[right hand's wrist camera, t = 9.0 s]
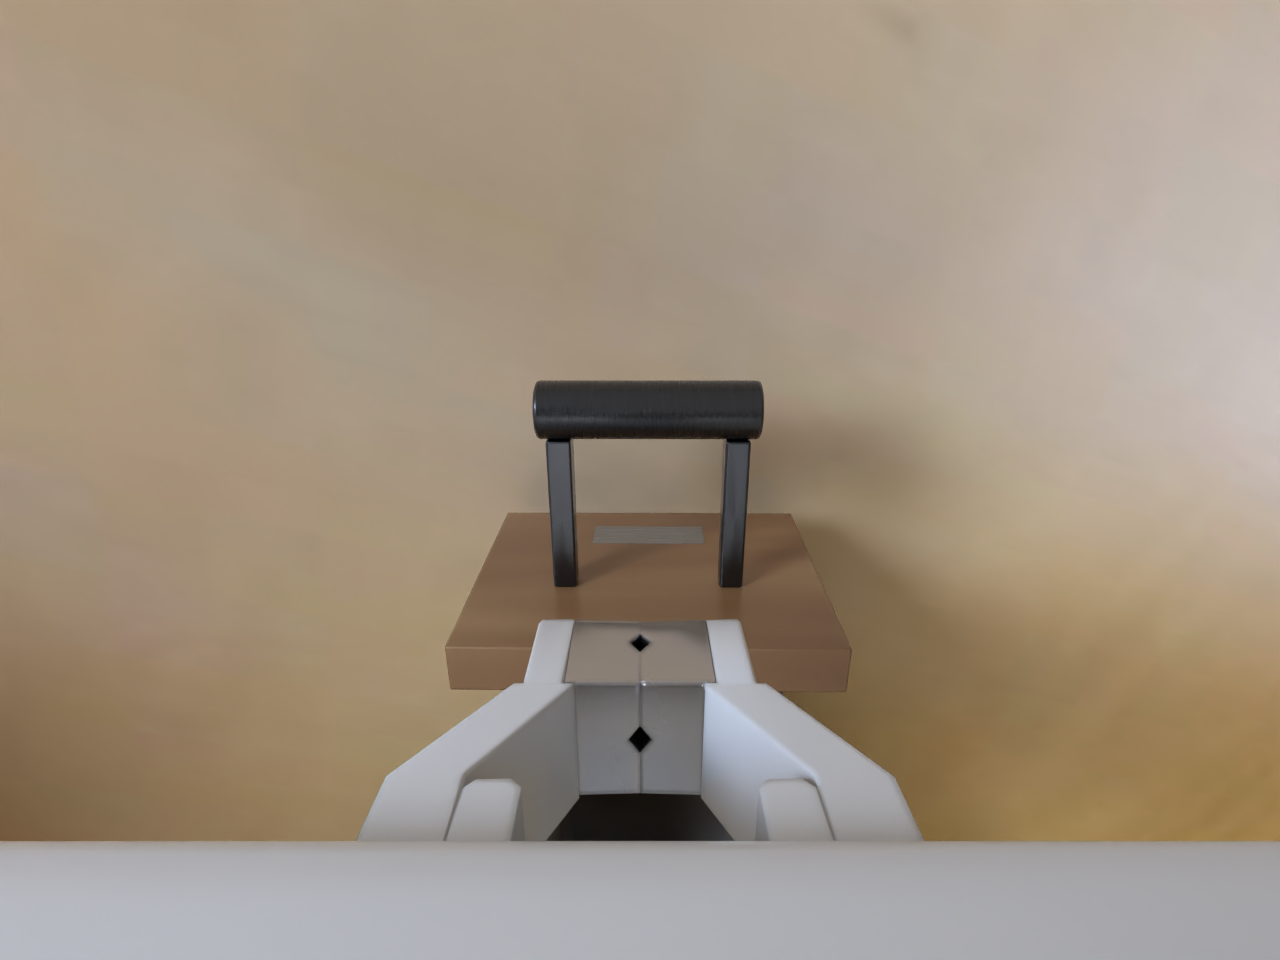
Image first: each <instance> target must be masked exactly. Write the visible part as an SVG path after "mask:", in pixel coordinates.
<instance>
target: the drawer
mask: <svg viewBox="0 0 1280 960" xmlns="http://www.w3.org/2000/svg"><path fill="white" fill-rule="evenodd" d="M763 420H764V395H763V388H762V385H761V383H760V382H759V381H538V382H536V385H535V388H534V393H533V423H534V429H535V433H536V436H537V437H538V438H540V439H547V441H546V457H547V474H548V491H549V508H550V513H508V514H507V516H506V518H505V520H504V522H503V524H502V527H501V529H500V531H499V533H498V535H497V537H496V539H495V542H494V544H493V546H492V548H491V550H490V552H489V554H488V556H487V559H486V561H485V563H484V565H483V567H482V569H481V571H480V574H479V576H478V578H477V580H476V582H475V584H474V586H473V589H472V591H471V593H470V595H469V597H468V599H467V601H466V603H465V606H464V608H463V610H462V612H461V614H460V616H459V618H458V621H457V623H456V625H455V627H454V629H453V631H452V633H451V636H450V638H449V640H448V642H447V644H446V646H445V651H446V658H447V666H448V674H449V681H450V688H451V689H482V690H505V689H507V688H508V687H510V686H511V685H512V684H514V683H524V679H525V675H526V671H527V667H528V663H529V660H530V656H531V652H532V648H533V644H534V640H535V636H536V633H537V629H538V625H539V623H540V622H541V621H542V620H554V619H573V620H574V621H575V620H617V621H640V622H651V621H692V620H723V619H738V620H739V621H740V622H741V626H742V629H743V633H744V637H745V641H746V645H747V648H748V652H749V656H750V660H751V664H752V667H753V671H754V675H755V679H756V683H766V684H768V685H769V686H771V687H772V688H773V689H775V690H776V691H777V692H779V693H780V694H781V695H783V692H846V689H847V682H848V674H849V667H850V659H851V652H852V649H851V647H850V645H849V643H848V640H847V638H846V636H845V634H844V632H843V629H842V627H841V625H840V623H839V620H838V618H837V616H836V614H835V612H834V609H833V607H832V605H831V603H830V600H829V598H828V596H827V594H826V592H825V589H824V587H823V585H822V583H821V580H820V578H819V576H818V574H817V572H816V569H815V567H814V565H813V563H812V560H811V558H810V556H809V554H808V552H807V549H806V547H805V545H804V543H803V540H802V538H801V536H800V534H799V532H798V529H797V527H796V525H795V523H794V520H793V518H792V516H791V514H747V500H748V483H749V466H750V449H751V443H750V440H749V439H758V438H759V437H760V435H761V432H762V428H763ZM573 439H724V444H723V467H722V490H721V512H720V514H712V513H576V498H575V475H574V451H573ZM783 696H784V695H783ZM546 841H734V840H733V838H732V837H731V836H730V834H729V833H728V832H727V831H726V829H725V828H724V827H723V825H722V824H721V823H720V822H719V820H718V819H717V818H716V816H715V815H714V814H713V813H712V811H711V810H710V809H709V807H708V806H707V805H706V804H705V802H704V801H703V800H702V798H701V795H689V794H654V793H625V794H590V795H579V799H578V800H577V802H576V803H575V804H574V805H573V807H572V808H571V809H570V811H569V812H568V813H567V814H566V816H565V817H564V818H563V820H562V821H561V822H560V823H559V825H558V826H557V827H556V829H555V830H554V831H553V832H552V834H551V835H550V836H549V838H548V839H547V840H546Z"/></svg>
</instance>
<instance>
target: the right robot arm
mask: <svg viewBox="0 0 1280 960" xmlns="http://www.w3.org/2000/svg"><path fill="white" fill-rule="evenodd" d="M625 793H654V794H689V795H701V798H702V800H703V801H704V802H705V804H706V805H707V806H708V807H709V809H710V810H711V811H712V813H713V814H714V815H715V816H716V818H717V819H718V820H719V822H720V823H721V824H722V825H723V827H724V828H725V829H726V831H727V832H728V833H729V834H730V836H731V837H732V838H733V840H734V841H546V840H547V839H548V838H549V836H550V835H551V834H552V832H553V831H554V830H555V829H556V827H557V826H558V825H559V823H560V822H561V821H562V820H563V818H564V817H565V816H566V814H567V813H568V812H569V811H570V809H571V808H572V807H573V805H574V804H575V803H576V802H577V800H578V799H579V795H590V794H625ZM0 960H1280V841H924V839H923V837H922V835H921V833H920V831H919V828H918V826H917V824H916V822H915V820H914V818H913V816H912V813H911V811H910V809H909V807H908V805H907V803H906V800H905V798H904V796H903V794H902V792H901V790H900V788H899V785H898V783H897V781H896V779H895V777H894V776H892V775H891V774H890V773H888V772H887V771H886V770H884V769H883V768H882V767H880V766H879V765H877V764H876V763H875V762H873V761H872V760H871V759H869V758H868V757H866V756H865V755H864V754H862V753H861V752H860V751H858V750H857V749H855V748H854V747H853V746H851V745H850V744H849V743H847V742H846V741H845V740H843V739H842V738H840V737H839V736H838V735H836V734H835V733H834V732H832V731H831V730H829V729H828V728H827V727H825V726H824V725H823V724H821V723H820V722H818V721H817V720H816V719H814V718H813V717H812V716H810V715H809V714H808V713H806V712H805V711H803V710H802V709H801V708H799V707H798V706H797V705H795V704H794V703H792V702H791V701H790V700H788V699H787V698H786V697H784V696H783V695H781V694H780V693H779V692H777V691H776V690H775V689H773V688H772V687H771V686H769V685H768V684H766V683H756V679H755V675H754V671H753V667H752V664H751V660H750V656H749V652H748V648H747V645H746V641H745V637H744V633H743V629H742V626H741V622H740V621H739V620H738V619H723V620H692V621H651V622H640V621H617V620H575V621H574V620H573V619H554V620H542V621H541V622H540V623H539V625H538V629H537V633H536V636H535V640H534V644H533V648H532V652H531V656H530V660H529V663H528V667H527V671H526V675H525V679H524V683H514V684H512V685H511V686H510V687H508V688H507V689H505V690H504V691H503V692H501V693H500V694H498V695H497V696H496V697H494V698H493V699H492V700H490V701H489V702H487V703H486V704H485V705H483V706H482V707H481V708H479V709H478V710H476V711H475V712H474V713H472V714H471V715H470V716H468V717H467V718H465V719H464V720H463V721H461V722H460V723H459V724H457V725H456V726H454V727H453V728H452V729H450V730H449V731H448V732H446V733H445V734H443V735H442V736H441V737H439V738H438V739H437V740H435V741H434V742H432V743H431V744H430V745H428V746H427V747H426V748H424V749H423V750H421V751H420V752H419V753H417V754H416V755H414V756H413V757H412V758H410V759H409V760H408V761H406V762H405V763H403V764H402V765H401V766H399V767H398V768H397V769H395V770H394V771H392V772H391V773H390V774H388V775H387V776H386V778H385V780H384V782H383V784H382V786H381V788H380V790H379V792H378V795H377V797H376V799H375V801H374V803H373V805H372V807H371V809H370V812H369V814H368V816H367V818H366V820H365V822H364V824H363V826H362V829H361V831H360V833H359V835H358V837H357V839H356V841H0Z"/></svg>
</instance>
